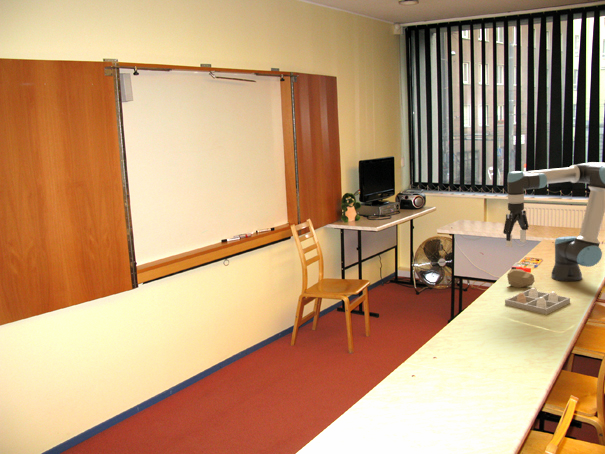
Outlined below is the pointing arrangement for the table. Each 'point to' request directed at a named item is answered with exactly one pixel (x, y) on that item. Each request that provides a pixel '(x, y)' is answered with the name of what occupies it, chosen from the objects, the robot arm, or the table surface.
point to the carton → (532, 302)
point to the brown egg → (521, 298)
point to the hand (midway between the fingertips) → (516, 244)
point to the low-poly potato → (520, 278)
